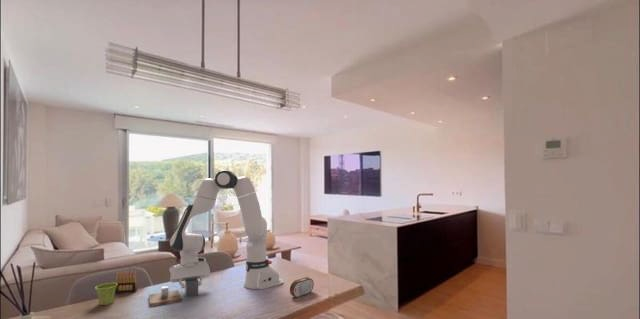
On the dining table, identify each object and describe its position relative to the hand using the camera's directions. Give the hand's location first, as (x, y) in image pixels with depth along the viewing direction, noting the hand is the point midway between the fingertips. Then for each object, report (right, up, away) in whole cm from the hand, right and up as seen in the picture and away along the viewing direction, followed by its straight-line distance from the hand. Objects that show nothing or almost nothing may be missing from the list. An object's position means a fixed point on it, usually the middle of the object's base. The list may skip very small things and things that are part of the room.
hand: (191, 286), depth 174 cm
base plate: (-11, -4, -6) cm, 14 cm away
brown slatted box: (-39, -5, +5) cm, 39 cm away
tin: (+59, -4, -2) cm, 60 cm away
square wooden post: (-11, -3, -6) cm, 13 cm away
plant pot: (-39, -5, -11) cm, 40 cm away
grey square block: (0, -4, 0) cm, 4 cm away
